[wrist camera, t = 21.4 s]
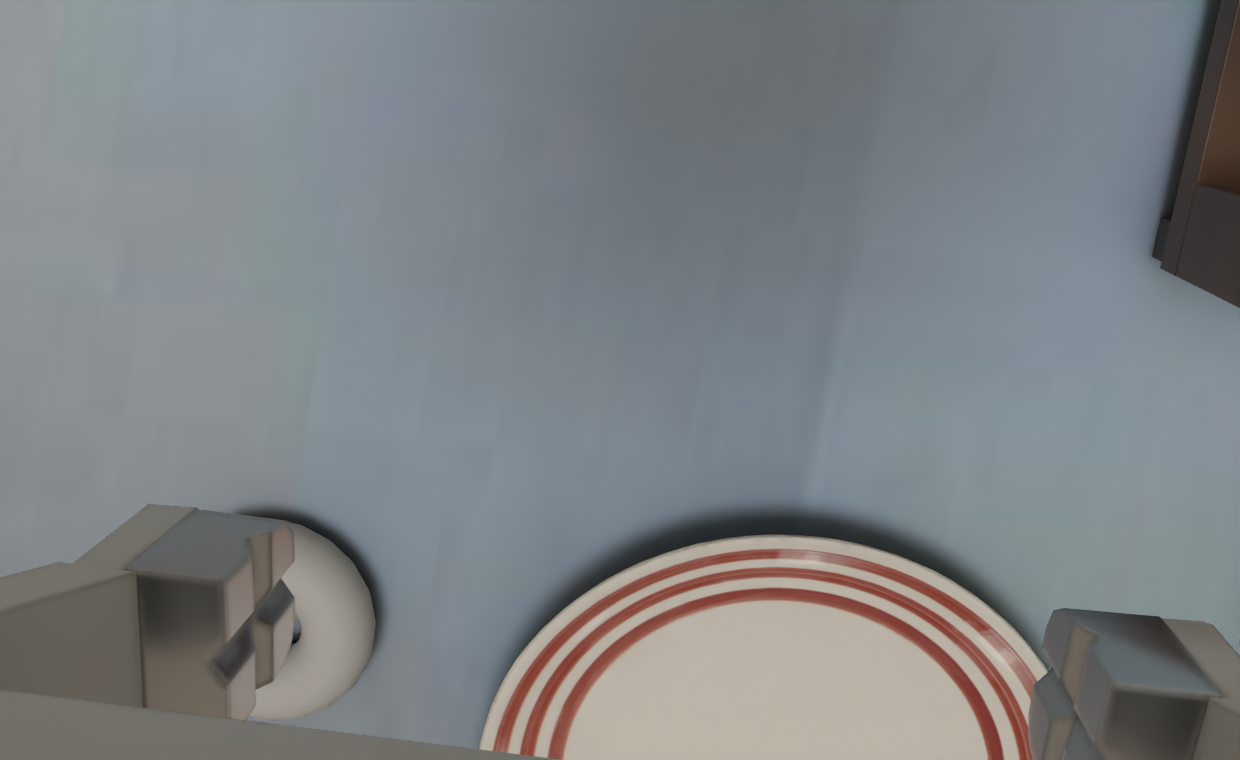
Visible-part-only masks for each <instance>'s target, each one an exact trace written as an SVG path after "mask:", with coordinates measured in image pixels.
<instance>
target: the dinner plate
mask: <svg viewBox="0 0 1240 760" xmlns="http://www.w3.org/2000/svg"><path fill="white" fill-rule="evenodd" d="M1046 673H1048V670H1047V668H1046V667H1045V665H1044V664H1043V662H1042V661H1041V660H1040V658H1039V657H1038V656H1037V654H1036V653H1035V652H1034V651H1033V649H1032V648H1031V647H1030V646H1029V644H1028V643H1027V642H1026V641H1025V640H1024V639H1023V638H1022V636H1021V635H1020V634H1019V633H1018V632H1017V631H1016V630H1015V629H1014V628H1013V627H1012V626H1011V625H1010V624H1009V623H1008V622H1007V621H1006V620H1005V619H1004V618H1002V617H1001V616H1000V615H999V614H998V613H997V612H995V611H994V610H993V609H992V608H991V607H989V606H988V605H987V604H986V603H984V602H983V601H982V600H980V599H979V598H978V597H976V596H975V595H974V594H972V593H971V592H969V591H968V590H966V589H965V588H963V587H962V586H960V585H958V584H957V583H955V582H954V581H952V580H951V579H949V578H947V577H945V576H943V575H941V574H939V573H937V572H935V571H934V570H931V569H929V568H927V567H925V566H922V565H920V564H918V563H915V562H913V561H910V560H908V559H906V558H903V557H901V556H899V555H896V554H892V553H889V552H886V551H883V550H879V549H876V548H873V547H870V546H866V545H862V544H857V543H853V542H849V541H843V540H838V539H831V538H824V537H814V536H801V535H753V536H741V537H732V538H724V539H719V540H714V541H709V542H703V543H698V544H694V545H691V546H687V547H683V548H680V549H677V550H674V551H670V552H667V553H664V554H661V555H659V556H656V557H653V558H650V559H648V560H645V561H642V562H640V563H638V564H636V565H634V566H631V567H629V568H627V569H625V570H623V571H621V572H619V573H617V574H615V575H613V576H612V577H610V578H608V579H606V580H605V581H603V582H601V583H600V584H598V585H597V586H595V587H594V588H592V589H591V590H589V591H588V592H586V593H585V594H583V595H582V596H580V597H579V598H577V599H576V600H575V601H573V602H572V603H571V604H570V605H568V606H567V607H566V608H565V609H563V610H562V611H561V612H560V613H559V614H557V615H556V616H555V617H554V618H553V619H552V620H551V621H550V622H549V623H548V624H547V625H546V626H544V627H543V628H542V629H541V630H540V631H539V633H538V634H537V635H536V636H535V637H534V638H533V639H532V640H531V641H530V642H529V644H528V645H527V646H526V647H525V649H524V650H523V651H522V652H521V654H520V655H519V656H518V658H517V659H516V661H515V662H514V664H513V665H512V667H511V669H510V670H509V672H508V673H507V675H506V677H505V678H504V680H503V682H502V684H501V686H500V688H499V690H498V692H497V694H496V696H495V698H494V701H493V703H492V706H491V708H490V711H489V714H488V717H487V720H486V724H485V727H484V730H483V734H482V738H481V741H480V746H479V749H480V750H488V751H496V752H504V753H512V754H520V755H528V756H536V757H544V758H552V759H560V760H1032V756H1031V751H1030V746H1029V741H1028V713H1029V708H1030V702H1031V697H1032V691H1033V686H1034V684H1035V683H1036V682H1037V681H1039V680H1040V679H1041V678H1042V677H1043V676H1044V675H1045V674H1046Z"/></svg>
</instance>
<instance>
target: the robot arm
mask: <svg viewBox="0 0 1240 760" xmlns="http://www.w3.org/2000/svg"><path fill="white" fill-rule="evenodd" d="M294 561H295V552H294V532H293V530H292V528H291V526H290V524H289V522H288V521H284V520H276V519H269V518H261V517H253V516H246V515H238V514H230V513H223V512H215V511H208V510H199V509H198V508H194V507H182V506H169V505H156V504H148V505H147V506H146V507H144V508H143V509H142V510H141V511H139V512H138V513H137V514H135V515H134V516H133V517H132V518H130V519H129V520H128V521H126V522H125V523H124V524H123V525H121V526H120V527H119V528H118V529H116V530H115V531H114V532H112V533H111V534H110V535H109V536H107V537H106V538H105V539H103V540H102V541H101V542H100V543H98V544H97V545H96V546H95V547H93V548H92V549H91V550H89V551H88V552H87V553H86V554H84V555H83V556H82V557H80V558H79V559H78V560H77V561H75V562H74V563H73V564H69V563H60V562H57V563H53V564H50V565H46V566H42V567H38V568H35V569H31V570H27V571H23V572H20V573H16V574H12V575H8V576H5V577H1V578H0V760H560V759H552V758H544V757H536V756H528V755H520V754H512V753H504V752H496V751H488V750H480V749H472V748H464V747H456V746H448V745H440V744H432V743H424V742H416V741H408V740H400V739H392V738H384V737H376V736H368V735H360V734H352V733H344V732H336V731H328V730H320V729H312V728H304V727H296V726H288V725H280V724H272V723H264V722H256V721H248V720H246V719H247V718H248V716H249V715H250V714H251V712H252V711H253V709H254V708H255V707H256V692H255V690H256V689H258V688H261V687H263V686H265V685H267V684H270V683H272V682H273V681H274V680H275V678H276V677H277V675H278V674H279V672H280V671H281V669H282V668H283V666H284V663H285V660H286V657H287V654H288V652H289V649H290V646H291V643H292V637H293V630H294V623H295V597H294V596H293V594H292V593H291V592H290V590H289V589H288V587H287V586H286V584H285V583H284V581H283V580H282V579H281V577H282V576H283V575H284V574H285V572H286V571H287V570H288V569H289V567H290V566H291V565H292V564H293V563H294ZM1042 648H1043V650H1044V652H1045V654H1046V656H1047V657H1048V659H1049V661H1050V663H1051V665H1052V667H1053V668H1052V669H1051V670H1050V671H1049V672H1048V673H1046V674H1045V675H1044V676H1043V677H1042V678H1041V679H1040V680H1039V681H1037V682H1036V683H1035V684H1034V686H1033V691H1032V697H1031V702H1030V708H1029V713H1028V741H1029V746H1030V751H1031V756H1032V760H1240V656H1239V655H1238V653H1237V652H1236V651H1235V650H1234V649H1233V648H1232V646H1231V645H1230V644H1229V643H1228V642H1227V641H1226V640H1225V638H1224V637H1223V636H1222V635H1221V634H1220V633H1219V631H1218V630H1217V629H1216V628H1215V627H1214V626H1213V625H1211V624H1209V623H1206V622H1203V621H1192V620H1177V619H1161V618H1160V617H1157V616H1146V615H1135V614H1124V613H1113V612H1102V611H1091V610H1079V609H1068V608H1063V609H1058V610H1054V611H1053V613H1052V616H1051V618H1050V620H1049V622H1048V624H1047V628H1046V632H1045V636H1044V641H1043V645H1042Z"/></svg>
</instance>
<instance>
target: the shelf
mask: <svg viewBox="0 0 1240 760" xmlns="http://www.w3.org/2000/svg"><path fill="white" fill-rule="evenodd" d="M1153 257H1154V258H1156V259H1158V260H1160V261H1162V263H1161V267H1160V268H1161V269H1163V270H1165V271H1167V272H1169V273H1171V274H1173V275H1175V276H1177V277H1179V278H1181V279H1183V280H1185V281H1187V282H1189V283H1191V284H1193V285H1195V286H1197V287H1199V288H1201V289H1203V290H1205V291H1207V292H1209V293H1211V294H1213V295H1215V296H1217V297H1219V298H1221V299H1223V300H1225V301H1227V302H1229V303H1231V304H1233V305H1235V306H1237V307H1239V308H1240V0H1221V3H1220V8H1219V12H1218V16H1217V21H1216V25H1215V30H1214V34H1213V38H1212V43H1211V47H1210V52H1209V56H1208V60H1207V65H1206V69H1205V74H1204V78H1203V82H1202V87H1201V91H1200V96H1199V100H1198V104H1197V109H1196V113H1195V117H1194V122H1193V126H1192V131H1191V135H1190V139H1189V144H1188V148H1187V153H1186V157H1185V161H1184V166H1183V170H1182V175H1181V179H1180V183H1179V188H1178V192H1177V197H1176V201H1175V205H1174V210H1173V214H1172V219H1170V218H1161V221H1160V225H1159V229H1158V234H1157V238H1156V243H1155V247H1154V252H1153Z"/></svg>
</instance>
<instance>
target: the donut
mask: <svg viewBox="0 0 1240 760" xmlns="http://www.w3.org/2000/svg"><path fill="white" fill-rule="evenodd" d="M269 519H271V518H269ZM289 524H290V526H291V528H292V530H293V532H294V552H295V561H294V563H293V564H292V565H291V566H290V567H289V569H288V570H287V571H286V572H285V574H284V575H283V576H282V577H281V579H282V580H283V581H284V583H285V584H286V586H287V587H288V589H289V590H290V592H291V593H292V594H293V596H294V597H295V614H296V616H297V618H298V619H299V621H300V625H301V636H300V638H299V640H298V642H297V643H295V644H293V645H291V646H290V649H289V652H288V654H287V657H286V660H285V663H284V666H283V668H282V669H281V671H280V672H279V674H278V675H277V677H276V678H275V680H274V681H273V682H272V683H270V684H267V685H265V686H263V687H261V688H258V689H256V690H255V692H256V707H255V708H254V709H253V711H252V712H251V714H250V715H249V716H250V717H254V718H259V719H263V720H277V719H294V718H299V717H303V716H305V715H308V714H310V713H313V712H316V711H318V710H321V709H324V708H326V707H329V706H330V705H332V704H333V703H334V702H335V701H336V700H338V699H339V698H340V697H341V696H342V695H343V694H345V693H346V692H347V691H348V690H349V689H351V688H352V687H353V686H354V685H355V684H356V682H357V681H358V679H359V677H360V675H361V673H362V672H363V670H364V668H365V666H366V664H367V663H368V661H369V659H370V657H371V653H372V648H373V640H374V633H375V626H376V620H375V615H374V610H373V605H372V600H371V595H370V592H369V590H368V588H367V586H366V584H365V582H364V581H363V579H362V577H361V575H360V574H359V572H358V570H357V568H356V567H355V565H354V563H353V562H352V561H351V560H350V559H349V558H348V557H347V556H346V555H345V554H344V553H343V552H342V551H341V550H340V549H339V548H338V547H337V546H336V545H335V544H333V543H332V542H331V541H330V540H329V539H327V538H325V537H323V536H321V535H319V534H317V533H315V532H314V531H312V530H310V529H308V528H306V527H304V526H302V525H298V524H294V523H289Z"/></svg>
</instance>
